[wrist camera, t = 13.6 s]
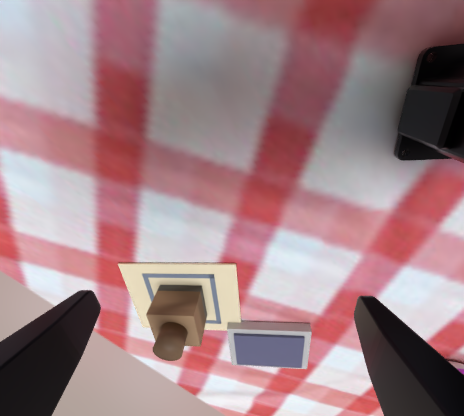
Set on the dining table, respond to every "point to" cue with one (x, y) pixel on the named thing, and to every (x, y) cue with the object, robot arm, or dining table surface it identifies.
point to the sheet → (205, 274)
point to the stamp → (177, 319)
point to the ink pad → (269, 344)
